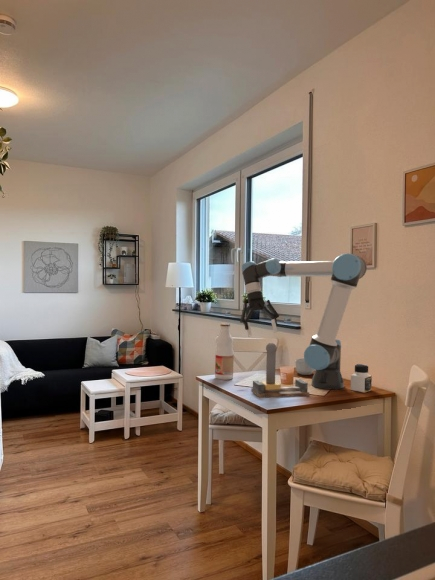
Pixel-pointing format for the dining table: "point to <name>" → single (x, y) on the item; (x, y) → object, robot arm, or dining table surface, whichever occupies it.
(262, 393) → the rail board
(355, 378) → the medicine bottle
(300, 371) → the teacup
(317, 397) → the dining table surface
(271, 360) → the post
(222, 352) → the fruit juice
